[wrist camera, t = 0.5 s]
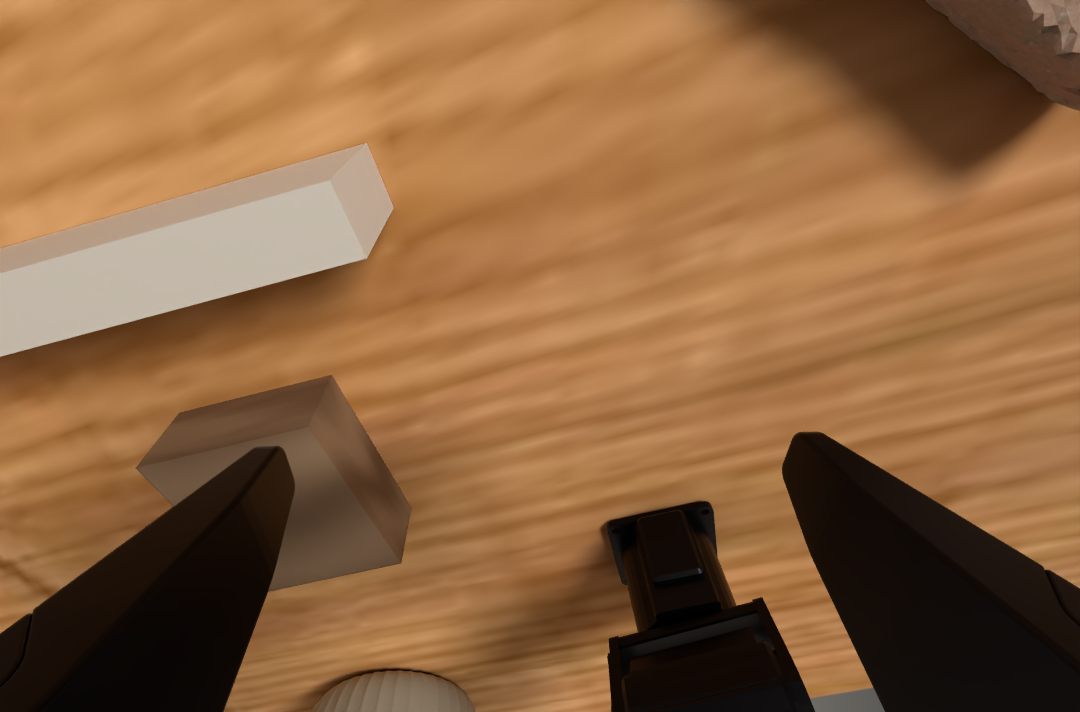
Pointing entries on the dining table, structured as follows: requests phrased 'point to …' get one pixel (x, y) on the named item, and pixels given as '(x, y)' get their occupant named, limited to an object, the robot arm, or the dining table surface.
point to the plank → (192, 249)
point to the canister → (394, 694)
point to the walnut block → (296, 476)
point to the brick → (1026, 39)
